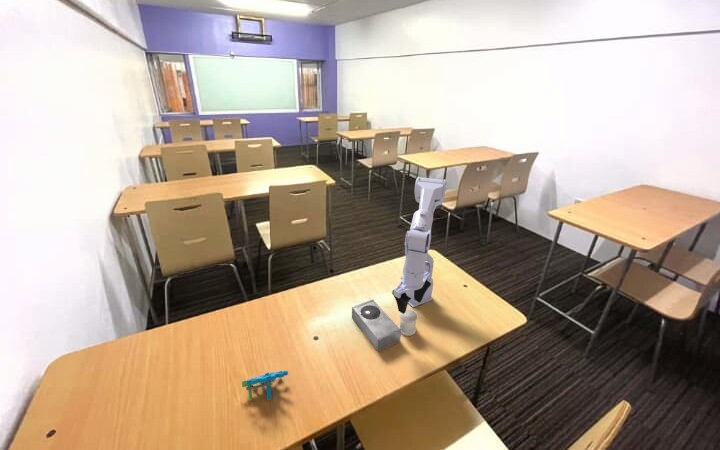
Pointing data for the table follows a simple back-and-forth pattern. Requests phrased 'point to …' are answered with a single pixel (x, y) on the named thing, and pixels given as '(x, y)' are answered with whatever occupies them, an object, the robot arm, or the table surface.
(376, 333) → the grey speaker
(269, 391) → the blue legged part
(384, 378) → the table surface
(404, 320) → the white cabinet knob
